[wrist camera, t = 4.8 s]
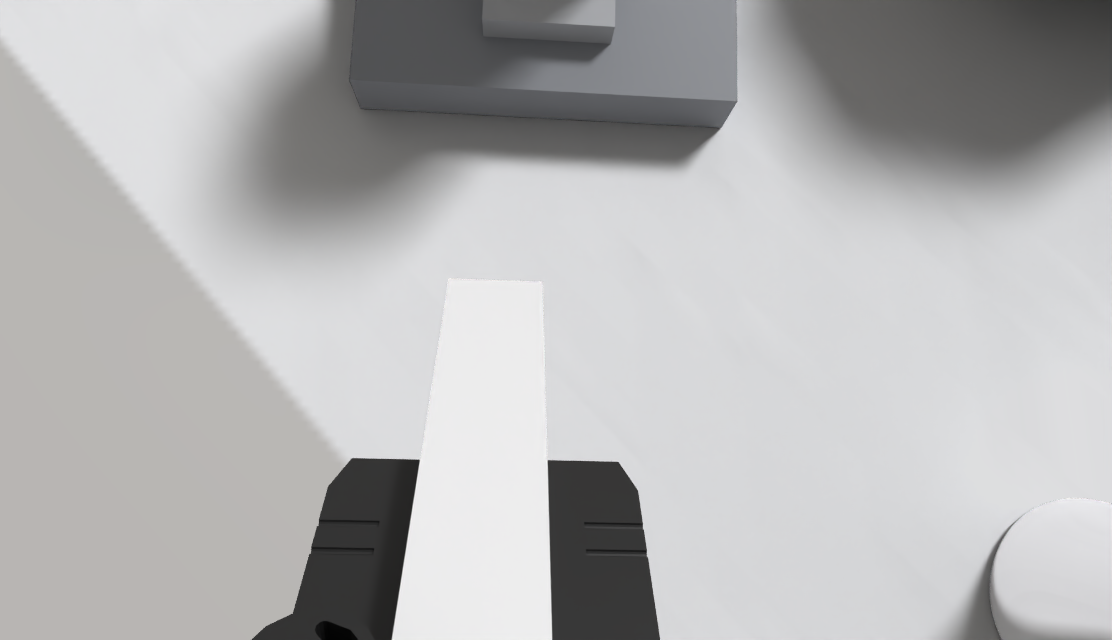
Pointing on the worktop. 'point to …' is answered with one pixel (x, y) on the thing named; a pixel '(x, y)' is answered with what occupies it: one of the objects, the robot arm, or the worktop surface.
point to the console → (549, 59)
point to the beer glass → (1055, 573)
